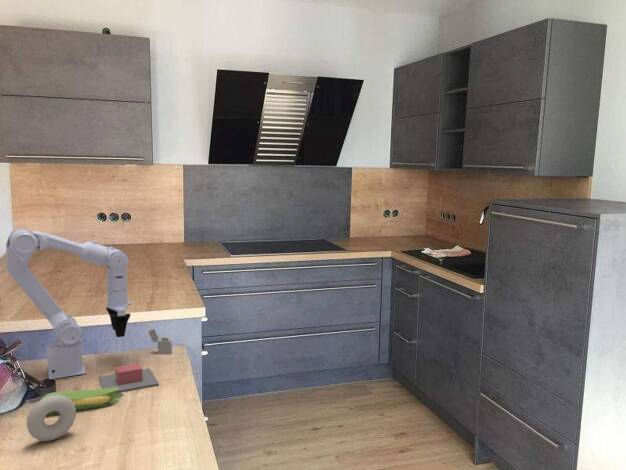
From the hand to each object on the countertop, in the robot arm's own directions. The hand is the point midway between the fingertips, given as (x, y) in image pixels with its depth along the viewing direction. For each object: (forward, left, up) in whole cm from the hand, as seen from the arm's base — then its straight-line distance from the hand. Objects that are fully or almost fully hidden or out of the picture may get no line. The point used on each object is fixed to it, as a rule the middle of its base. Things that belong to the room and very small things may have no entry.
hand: (118, 332), depth 156 cm
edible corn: (-13, -27, -10) cm, 32 cm away
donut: (-20, -40, -10) cm, 46 cm away
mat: (0, -16, -9) cm, 19 cm away
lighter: (+13, +3, -10) cm, 16 cm away
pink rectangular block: (0, -16, -9) cm, 19 cm away
